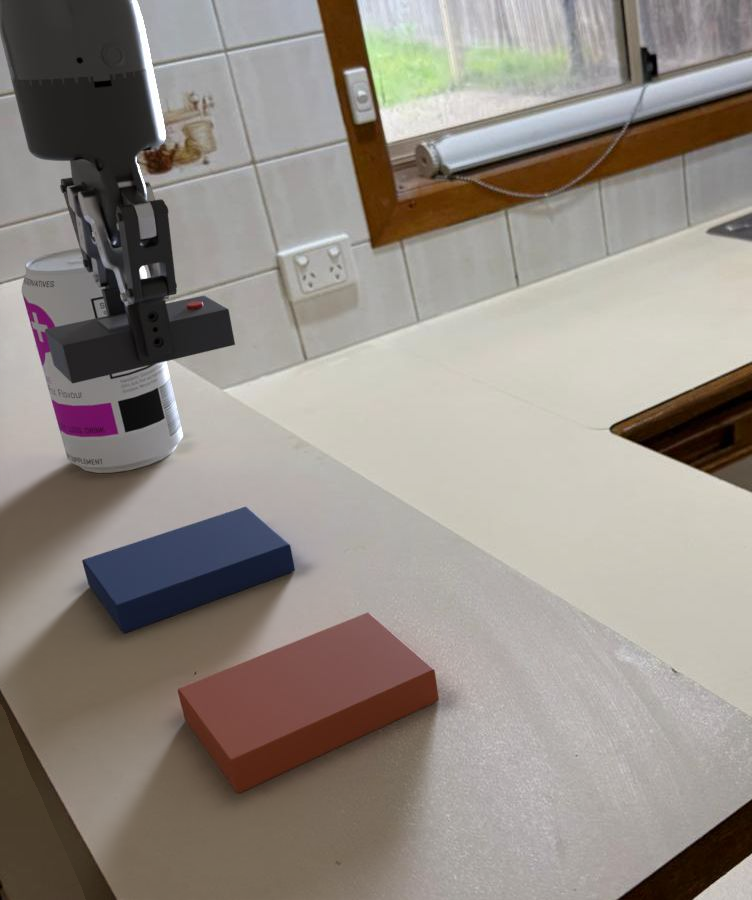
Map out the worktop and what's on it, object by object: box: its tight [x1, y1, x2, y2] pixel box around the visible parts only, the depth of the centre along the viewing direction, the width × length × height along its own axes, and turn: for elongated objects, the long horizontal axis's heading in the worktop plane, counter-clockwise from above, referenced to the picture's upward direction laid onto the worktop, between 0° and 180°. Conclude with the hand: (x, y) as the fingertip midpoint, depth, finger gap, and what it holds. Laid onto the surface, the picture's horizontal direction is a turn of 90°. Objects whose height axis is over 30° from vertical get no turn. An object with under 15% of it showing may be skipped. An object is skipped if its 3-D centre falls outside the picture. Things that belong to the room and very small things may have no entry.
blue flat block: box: [81, 506, 296, 634], centre depth 67 cm, size 7×10×2 cm
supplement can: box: [21, 247, 184, 474], centre depth 83 cm, size 8×8×15 cm
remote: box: [45, 295, 236, 383], centre depth 71 cm, size 10×4×3 cm, turn 127°
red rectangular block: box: [177, 612, 440, 794], centre depth 54 cm, size 7×10×2 cm
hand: (144, 350), depth 72 cm, fingers closed on remote, 4 cm apart
